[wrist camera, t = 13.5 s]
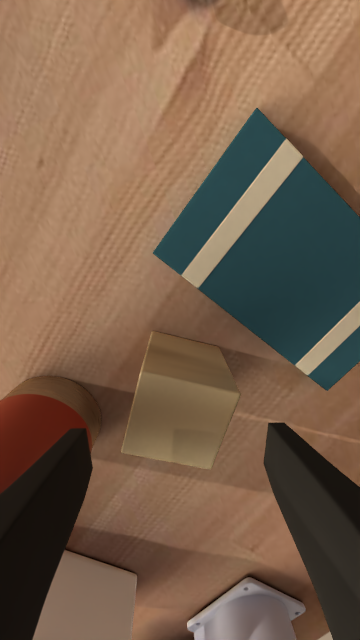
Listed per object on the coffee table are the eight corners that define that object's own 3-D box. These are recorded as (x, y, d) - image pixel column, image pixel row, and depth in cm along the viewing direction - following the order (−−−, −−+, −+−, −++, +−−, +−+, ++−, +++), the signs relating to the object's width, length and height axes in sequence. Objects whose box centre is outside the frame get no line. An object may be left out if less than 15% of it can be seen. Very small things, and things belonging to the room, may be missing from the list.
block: (199, 403, 15) (211, 470, 11) (137, 389, 15) (120, 454, 10) (219, 346, 14) (241, 393, 9) (152, 330, 14) (140, 371, 9)
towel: (319, 384, 15) (327, 391, 14) (153, 252, 12) (152, 252, 12) (418, 292, 14) (433, 295, 13) (251, 117, 11) (257, 106, 10)
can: (72, 466, 17) (-63, 749, 7) (-10, 424, 16) (-307, 700, 6) (120, 408, 15) (32, 663, 6) (34, 356, 14) (-259, 574, 5)
